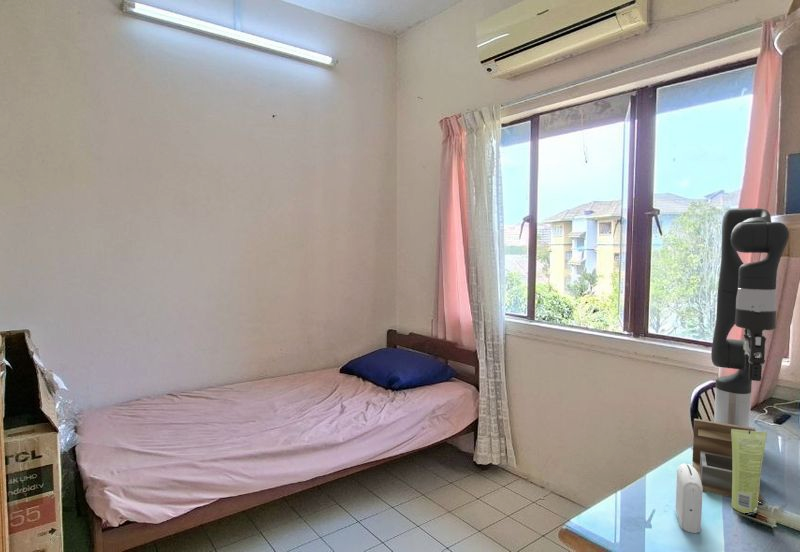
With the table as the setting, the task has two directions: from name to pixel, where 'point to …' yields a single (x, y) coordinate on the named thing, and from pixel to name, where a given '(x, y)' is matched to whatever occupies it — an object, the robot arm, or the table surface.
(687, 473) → the photo printer
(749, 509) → the tube
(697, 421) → the wall rack
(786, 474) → the table surface
